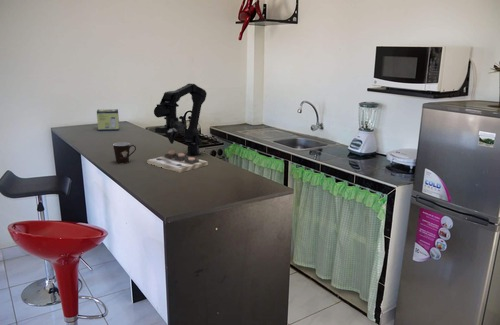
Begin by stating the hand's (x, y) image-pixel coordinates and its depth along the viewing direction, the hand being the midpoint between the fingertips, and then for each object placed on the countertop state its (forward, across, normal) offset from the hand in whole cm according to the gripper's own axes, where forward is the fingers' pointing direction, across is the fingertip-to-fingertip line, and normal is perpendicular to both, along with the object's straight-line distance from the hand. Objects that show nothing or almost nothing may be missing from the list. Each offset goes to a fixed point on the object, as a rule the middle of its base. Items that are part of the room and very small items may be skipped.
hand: (171, 143), depth 211 cm
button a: (+6, 0, 0) cm, 7 cm away
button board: (+10, -3, -7) cm, 13 cm away
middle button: (+6, 0, -8) cm, 10 cm away
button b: (+8, 0, -16) cm, 17 cm away
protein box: (+10, +32, +107) cm, 112 cm away
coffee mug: (+10, -19, +17) cm, 27 cm away
